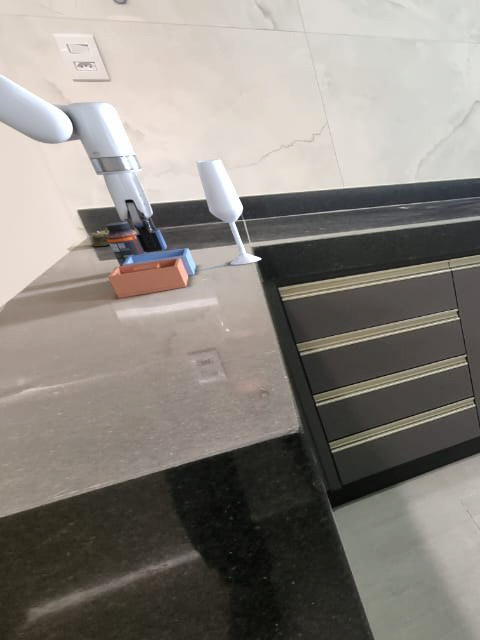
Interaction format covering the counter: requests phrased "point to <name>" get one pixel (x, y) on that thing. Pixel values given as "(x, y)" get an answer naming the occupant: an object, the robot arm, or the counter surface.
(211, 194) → the champagne flute
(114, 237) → the supplement bottle
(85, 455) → the counter surface
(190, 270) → the blue bin
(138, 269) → the terracotta block
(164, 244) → the slate-blue block
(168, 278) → the terracotta bin
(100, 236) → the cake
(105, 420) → the counter surface
